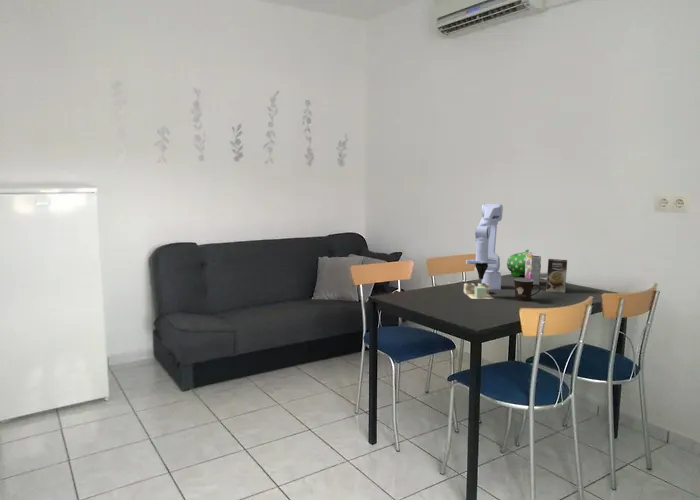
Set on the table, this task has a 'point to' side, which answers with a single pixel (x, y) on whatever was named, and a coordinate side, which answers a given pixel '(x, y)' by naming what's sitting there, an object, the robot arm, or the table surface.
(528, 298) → the coffee mug
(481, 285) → the dotted cube
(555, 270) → the coffee box
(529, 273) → the candy bar box
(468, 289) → the dotted cube
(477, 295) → the plain cube
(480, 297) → the birch board
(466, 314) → the table surface
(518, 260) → the piggy bank
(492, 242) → the robot arm
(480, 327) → the table surface
